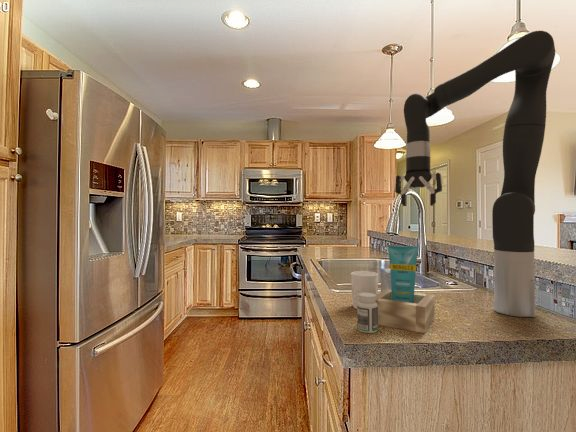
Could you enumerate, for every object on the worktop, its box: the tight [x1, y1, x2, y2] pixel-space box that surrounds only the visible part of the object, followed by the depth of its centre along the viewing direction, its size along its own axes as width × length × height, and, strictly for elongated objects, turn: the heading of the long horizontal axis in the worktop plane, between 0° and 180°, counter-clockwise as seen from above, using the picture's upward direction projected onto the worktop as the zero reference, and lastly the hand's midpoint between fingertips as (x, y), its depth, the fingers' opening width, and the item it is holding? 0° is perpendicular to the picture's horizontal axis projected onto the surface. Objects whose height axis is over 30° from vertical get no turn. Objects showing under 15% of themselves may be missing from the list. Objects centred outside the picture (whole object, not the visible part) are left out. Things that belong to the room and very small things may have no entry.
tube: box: [387, 245, 419, 303], centre depth 84 cm, size 7×5×19 cm, turn 73°
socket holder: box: [375, 289, 436, 334], centre depth 84 cm, size 13×13×6 cm
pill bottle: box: [356, 293, 379, 334], centre depth 77 cm, size 5×5×8 cm
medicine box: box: [380, 268, 391, 292], centre depth 110 cm, size 8×4×9 cm, turn 179°
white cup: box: [350, 270, 379, 310], centre depth 96 cm, size 8×8×10 cm
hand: (418, 205), depth 108 cm, fingers open, 8 cm apart
